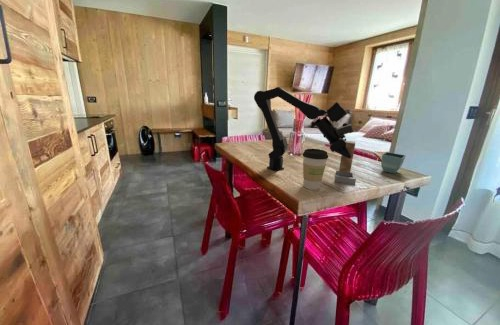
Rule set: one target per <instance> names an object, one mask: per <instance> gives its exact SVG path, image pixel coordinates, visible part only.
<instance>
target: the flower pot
mask: <svg viewBox="0 0 500 325" xmlns="http://www.w3.org/2000/svg"><path fill="white" fill-rule="evenodd" d="M405 159H406V155H405V154H399V153H396V152H395V153H394V152H387V151H385V152H384V153H382V154H381V168H382V169H381V170H382V171H383V172H385V173H389V174H396V173H397V172H398V171H399V170H400V169H401V167H402V165H403V164H404V161H405Z"/></svg>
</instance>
